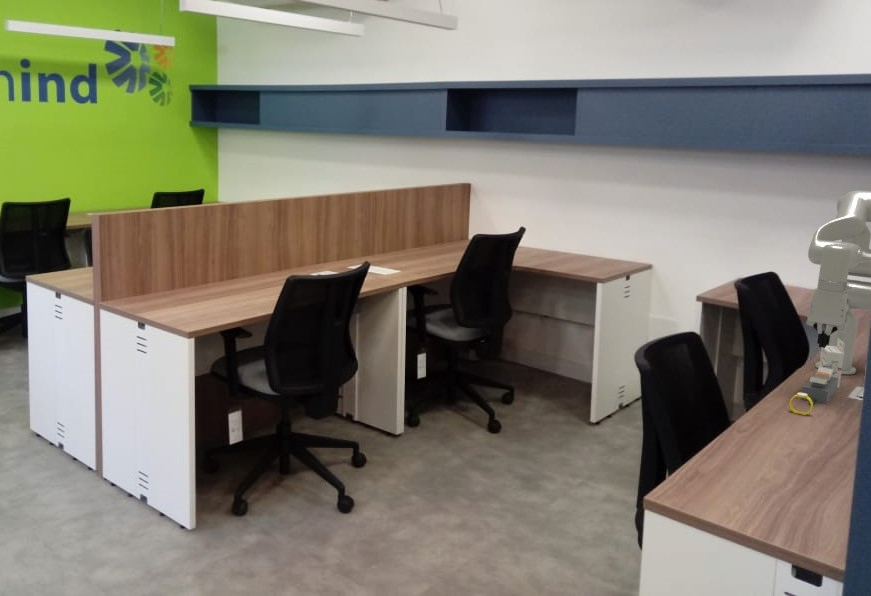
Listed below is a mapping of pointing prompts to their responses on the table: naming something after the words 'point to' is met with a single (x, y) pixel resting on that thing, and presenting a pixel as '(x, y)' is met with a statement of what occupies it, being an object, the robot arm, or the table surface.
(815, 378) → the plate
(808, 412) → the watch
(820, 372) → the rocker
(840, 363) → the ink cartridge box
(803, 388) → the rocker switch panel
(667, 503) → the table surface
